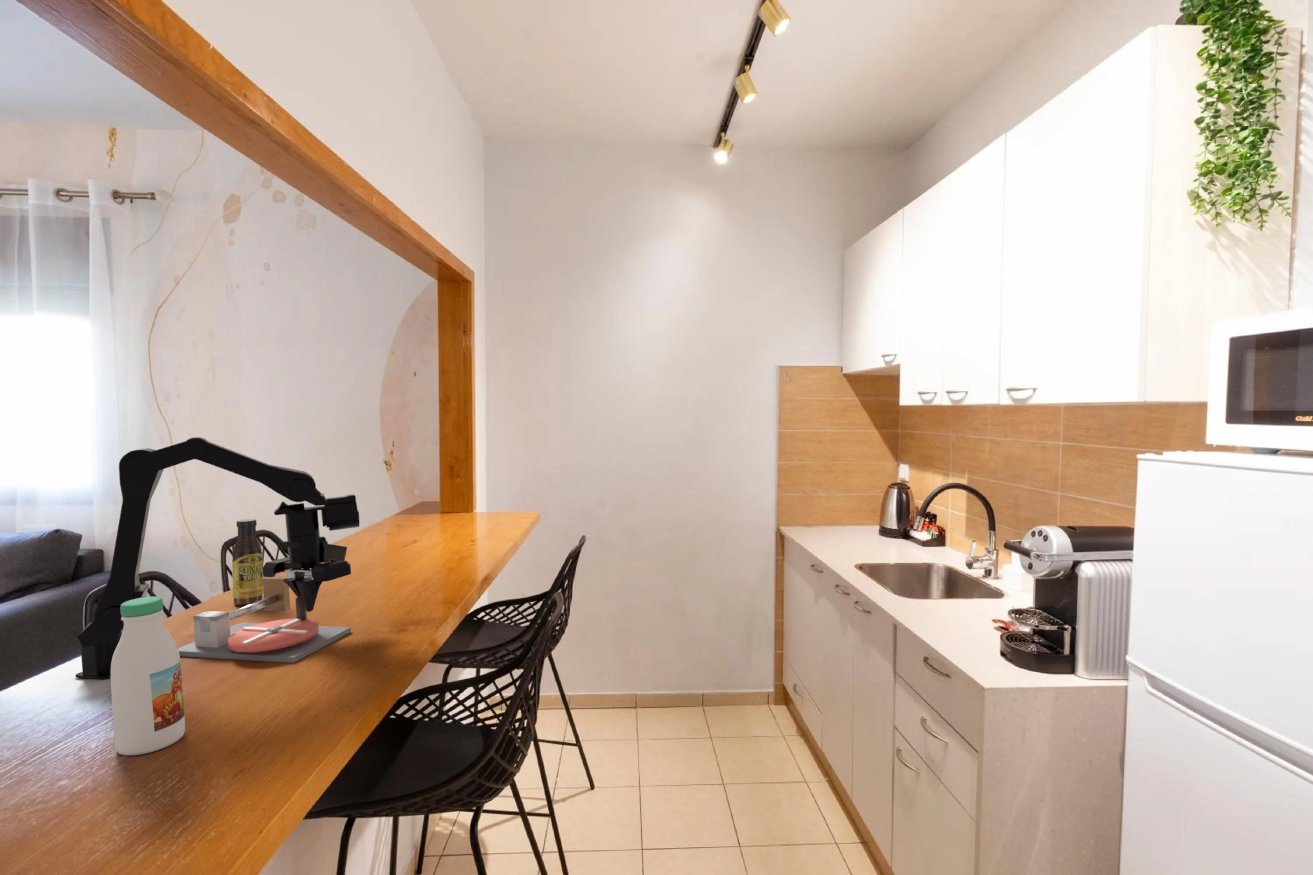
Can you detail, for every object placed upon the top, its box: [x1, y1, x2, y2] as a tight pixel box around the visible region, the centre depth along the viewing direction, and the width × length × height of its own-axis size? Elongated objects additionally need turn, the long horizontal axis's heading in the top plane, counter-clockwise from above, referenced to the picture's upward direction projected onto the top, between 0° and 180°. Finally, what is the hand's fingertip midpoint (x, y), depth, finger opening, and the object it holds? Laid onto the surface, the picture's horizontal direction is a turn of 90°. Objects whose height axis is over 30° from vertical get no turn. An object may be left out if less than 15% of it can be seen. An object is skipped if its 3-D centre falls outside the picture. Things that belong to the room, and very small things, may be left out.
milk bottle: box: [110, 596, 186, 756], centre depth 91 cm, size 8×8×20 cm
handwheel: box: [228, 597, 319, 652], centre depth 126 cm, size 15×15×6 cm
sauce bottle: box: [231, 518, 264, 606], centre depth 157 cm, size 7×6×20 cm
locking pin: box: [229, 576, 291, 621], centre depth 137 cm, size 13×5×7 cm, turn 169°
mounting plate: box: [178, 610, 352, 664], centre depth 129 cm, size 16×26×7 cm, turn 79°
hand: (310, 611), depth 132 cm, fingers closed
